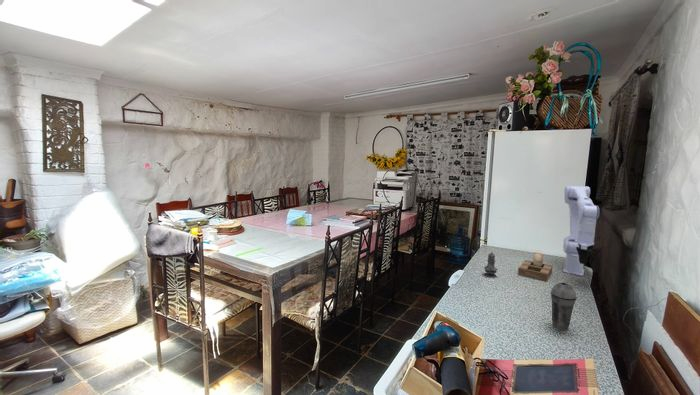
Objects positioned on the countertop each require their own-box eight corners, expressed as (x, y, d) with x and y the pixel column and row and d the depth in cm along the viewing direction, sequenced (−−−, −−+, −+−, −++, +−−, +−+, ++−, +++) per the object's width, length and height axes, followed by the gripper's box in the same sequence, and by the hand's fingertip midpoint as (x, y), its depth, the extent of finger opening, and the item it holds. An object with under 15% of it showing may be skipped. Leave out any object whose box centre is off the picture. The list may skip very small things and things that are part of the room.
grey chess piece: (498, 278, 144) (500, 254, 143) (485, 277, 145) (486, 253, 144) (495, 273, 150) (496, 250, 148) (482, 272, 151) (483, 249, 149)
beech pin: (533, 266, 155) (535, 251, 154) (542, 269, 153) (544, 253, 151) (531, 269, 152) (533, 253, 151) (540, 271, 150) (542, 255, 149)
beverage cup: (542, 321, 107) (547, 267, 104) (561, 320, 108) (567, 266, 105) (558, 333, 100) (564, 275, 97) (578, 332, 100) (585, 275, 98)
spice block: (525, 266, 159) (525, 260, 159) (552, 272, 152) (552, 265, 151) (517, 274, 148) (518, 268, 148) (546, 281, 140) (547, 274, 140)
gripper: (577, 227, 143) (574, 255, 145) (573, 233, 133) (570, 263, 134) (596, 230, 139) (593, 259, 140) (594, 236, 128) (590, 267, 130)
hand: (583, 261), depth 137 cm, fingers open, 7 cm apart
